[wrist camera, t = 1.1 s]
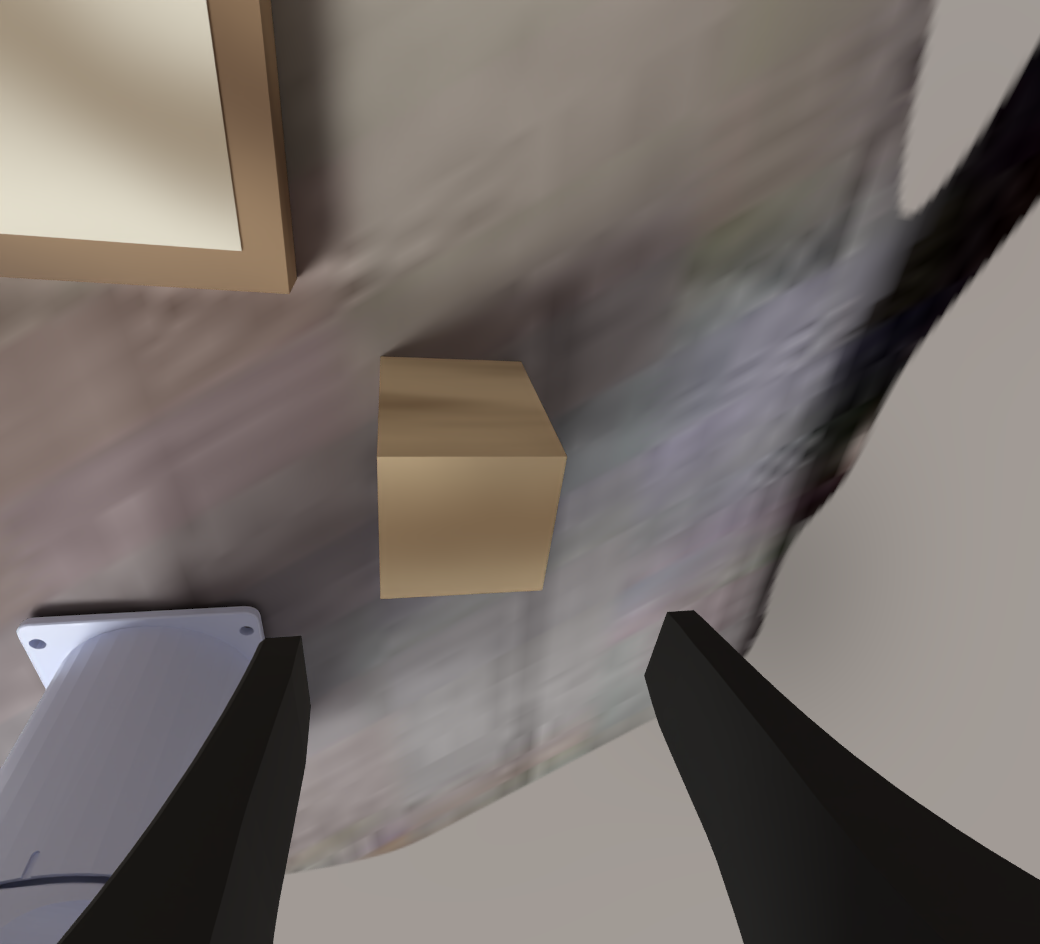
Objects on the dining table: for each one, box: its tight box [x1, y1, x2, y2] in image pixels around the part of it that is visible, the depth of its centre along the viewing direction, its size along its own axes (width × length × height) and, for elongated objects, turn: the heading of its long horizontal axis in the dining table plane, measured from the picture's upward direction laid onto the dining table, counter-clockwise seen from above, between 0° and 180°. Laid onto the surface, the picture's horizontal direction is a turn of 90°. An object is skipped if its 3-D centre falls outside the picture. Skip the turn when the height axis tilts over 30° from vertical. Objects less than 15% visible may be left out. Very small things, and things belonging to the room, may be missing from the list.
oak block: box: [377, 356, 567, 599], centre depth 17 cm, size 4×4×6 cm
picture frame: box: [0, 0, 297, 294], centre depth 12 cm, size 9×9×2 cm
